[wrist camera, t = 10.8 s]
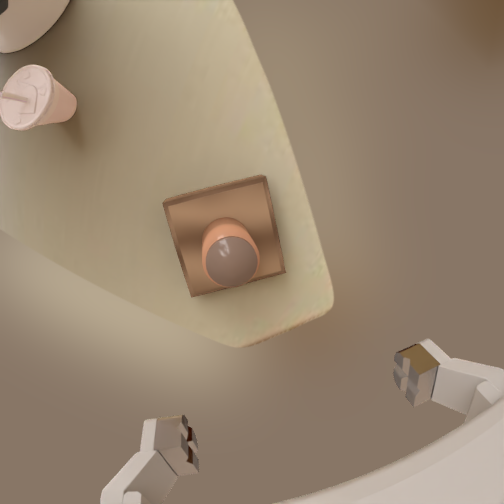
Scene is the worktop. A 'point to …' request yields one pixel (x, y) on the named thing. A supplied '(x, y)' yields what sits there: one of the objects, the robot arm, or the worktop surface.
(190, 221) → the plinth
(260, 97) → the worktop surface
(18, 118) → the smoothie
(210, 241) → the jar
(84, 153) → the worktop surface
